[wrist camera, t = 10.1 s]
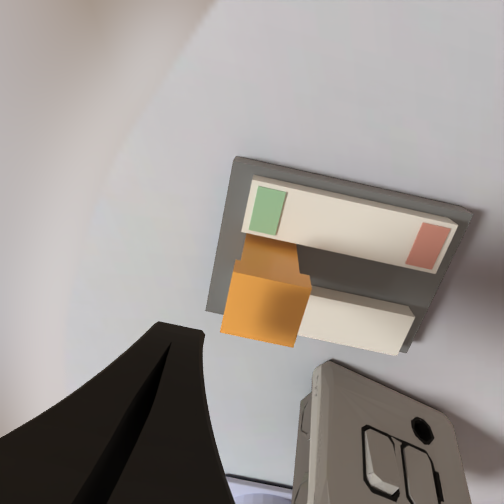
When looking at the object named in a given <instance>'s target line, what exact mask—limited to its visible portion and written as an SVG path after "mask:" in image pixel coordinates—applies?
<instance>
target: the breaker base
mask: <svg viewBox="0 0 504 504" xmlns="http://www.w3.org/2000/svg"><path fill="white" fill-rule="evenodd" d="M473 215H474V214H472V213H471V212H469V211H468V210H466V209H465V208H463V207H461V206H457V205H453V204H448V203H444V202H439V201H435V200H430V199H426V198H421V197H417V196H412V195H408V194H403V193H399V192H394V191H390V190H385V189H381V188H377V187H372V186H368V185H363V184H359V183H354V182H350V181H345V180H341V179H336V178H332V177H327V176H323V175H318V174H314V173H309V172H305V171H300V170H296V169H291V168H287V167H283V166H278V165H274V164H269V163H265V162H260V161H256V160H251V159H247V158H242V157H238V156H236V157H235V159H234V160H233V165H232V170H231V175H230V181H229V186H228V192H227V197H226V202H225V208H224V213H223V219H222V224H221V229H220V235H219V240H218V246H217V251H216V256H215V262H214V267H213V273H212V278H211V283H210V289H209V294H208V300H207V305H206V310H205V311H208V312H213V313H218V314H222V315H224V311H225V306H226V302H227V297H228V292H229V287H230V283H231V278H232V273H233V269H234V265H235V260H240V261H241V256H242V252H243V247H244V243H245V238H246V233H249V234H254V235H258V236H263V237H267V238H272V239H277V240H281V241H286V242H290V243H295V244H296V247H297V255H298V263H299V271H300V273H301V274H305V275H310V281H311V286H312V290H311V293H310V296H309V300H308V303H307V306H306V309H305V312H304V315H303V318H302V321H301V325H300V328H299V331H298V334H297V335H299V336H304V337H308V338H313V339H318V340H323V341H327V342H332V343H337V344H342V345H347V346H351V347H356V348H361V349H366V350H370V351H375V352H380V353H385V354H389V355H394V356H397V355H398V353H399V352H403V353H407V352H408V349H409V347H410V345H411V343H412V341H413V339H414V337H415V335H416V333H417V331H418V329H419V327H420V325H421V323H422V320H423V318H424V316H425V314H426V312H427V310H428V308H429V306H430V304H431V302H432V300H433V298H434V296H435V293H436V291H437V289H438V287H439V285H440V283H441V281H442V279H443V277H444V275H445V273H446V271H447V269H448V267H449V264H450V262H451V260H452V258H453V256H454V254H455V252H456V250H457V248H458V246H459V244H460V242H461V240H462V238H463V235H464V233H465V231H466V229H467V227H468V225H469V223H470V221H471V219H472V217H473Z"/></svg>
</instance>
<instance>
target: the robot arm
mask: <svg viewBox="0 0 504 504" xmlns="http://www.w3.org/2000/svg"><path fill="white" fill-rule="evenodd" d="M204 338H205V334H204V333H203V331H202V330H198V329H193V328H188V327H183V326H178V325H174V324H169V323H164V322H157V323H155V324H154V325H153V326H152V327H151V328H150V329H149V330H148V331H147V332H146V333H145V334H144V335H143V336H142V337H141V338H140V339H138V340H137V341H136V342H135V343H134V344H133V345H132V346H131V347H130V348H129V349H127V350H126V351H125V352H124V353H123V354H122V355H120V356H119V357H118V358H117V359H116V360H114V361H113V362H112V363H111V364H110V365H109V366H107V367H106V368H105V369H104V370H102V371H101V372H100V373H98V374H97V375H96V376H94V377H93V378H92V379H91V380H89V381H88V382H87V383H85V384H84V385H83V386H81V387H80V388H79V389H77V390H76V391H74V392H73V393H72V394H70V395H69V396H67V397H66V398H64V399H63V400H61V401H60V402H59V403H57V404H56V405H54V406H52V407H51V408H49V409H48V410H46V411H45V412H43V413H42V414H40V415H39V416H37V417H35V418H34V419H32V420H30V421H28V422H27V423H25V424H23V425H22V426H20V427H18V428H17V429H15V430H13V431H11V432H10V433H8V434H6V435H5V436H3V437H1V438H0V504H291V502H292V491H293V490H292V489H287V488H282V487H277V486H272V485H267V484H261V483H256V482H251V481H246V480H241V479H236V478H231V477H226V476H225V473H224V469H223V466H222V463H221V460H220V456H219V453H218V449H217V445H216V442H215V438H214V434H213V430H212V425H211V421H210V416H209V410H208V405H207V399H206V393H205V384H204V375H203V343H204Z"/></svg>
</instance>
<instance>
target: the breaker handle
mask: <svg viewBox="0 0 504 504" xmlns="http://www.w3.org/2000/svg"><path fill="white" fill-rule="evenodd" d="M311 290H312V286H311V281H310V275H305V274H301V273H300V271H299V263H298V255H297V247H296V244H295V243H290V242H286V241H281V240H277V239H272V238H267V237H263V236H258V235H254V234H249V233H246V238H245V243H244V247H243V252H242V256H241V261H240V260H235V265H234V269H233V273H232V278H231V283H230V287H229V292H228V297H227V302H226V306H225V311H224V316H223V320H222V325H221V330H220V332H221V333H226V334H230V335H235V336H240V337H245V338H249V339H254V340H259V341H264V342H269V343H273V344H278V345H283V346H288V347H294V343H295V340H296V337H297V334H298V331H299V328H300V325H301V321H302V318H303V315H304V312H305V309H306V306H307V303H308V300H309V296H310V293H311Z"/></svg>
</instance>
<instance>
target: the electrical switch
mask: <svg viewBox="0 0 504 504" xmlns="http://www.w3.org/2000/svg"><path fill="white" fill-rule="evenodd" d="M309 439H310V440H309ZM291 504H472V503H471V499H470V495H469V490H468V486H467V482H466V478H465V473H464V469H463V465H462V461H461V456H460V452H459V448H458V444H457V440H456V435H455V431H454V427H453V425H452V424H451V422H450V421H449V419H448V418H447V417H446V416H445V415H444V414H443V413H442V412H440V411H437V410H435V409H433V408H431V407H429V406H427V405H424V404H422V403H420V402H418V401H416V400H414V399H411V398H409V397H407V396H405V395H403V394H400V393H398V392H396V391H394V390H392V389H390V388H387V387H385V386H383V385H381V384H379V383H377V382H374V381H372V380H370V379H368V378H366V377H363V376H361V375H359V374H357V373H355V372H353V371H350V370H348V369H346V368H344V367H342V366H340V365H337V364H335V363H333V362H331V361H327V362H325V363H323V364H322V365H320V366H318V367H317V368H315V370H314V372H313V376H312V392H311V393H310V394H309V395H307V396H306V397H305V398H304V399H303V400H301V404H300V415H299V426H298V437H297V448H296V458H295V469H294V480H293V491H292V502H291Z"/></svg>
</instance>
